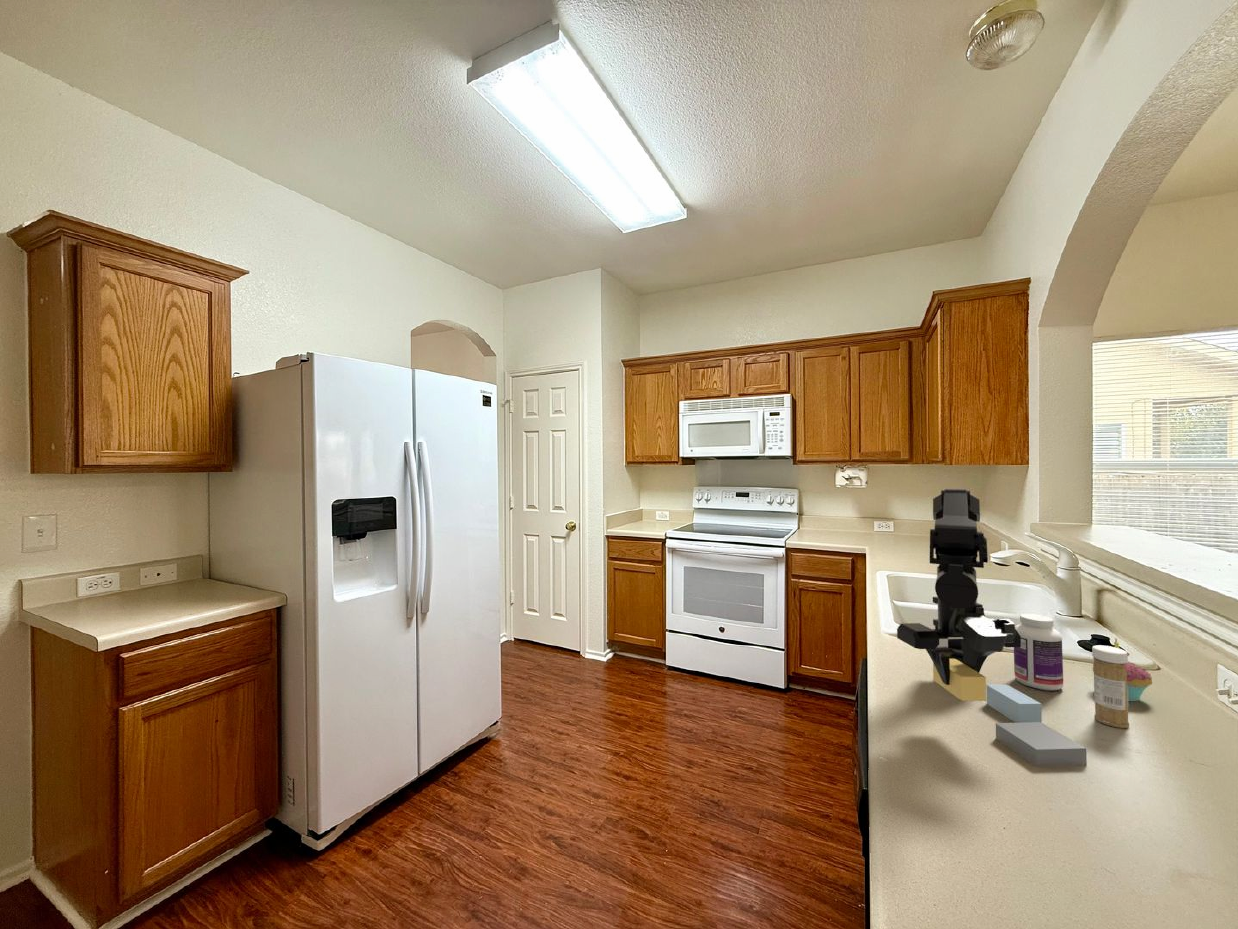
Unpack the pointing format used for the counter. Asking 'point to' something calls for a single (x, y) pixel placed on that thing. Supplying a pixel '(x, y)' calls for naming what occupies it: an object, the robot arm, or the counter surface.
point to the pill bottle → (1039, 653)
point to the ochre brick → (963, 682)
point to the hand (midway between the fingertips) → (958, 683)
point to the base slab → (1041, 744)
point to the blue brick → (1013, 704)
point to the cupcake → (1135, 679)
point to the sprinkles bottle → (1110, 686)
